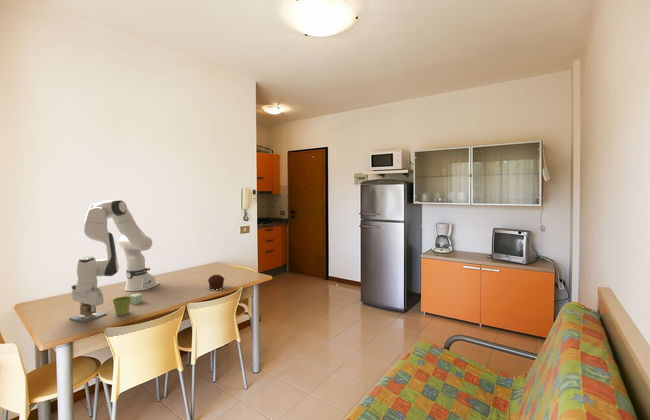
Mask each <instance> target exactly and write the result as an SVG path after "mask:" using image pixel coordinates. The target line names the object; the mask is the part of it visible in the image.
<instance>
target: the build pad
mask: <svg viewBox="0 0 650 420" xmlns="http://www.w3.org/2000/svg"><path fill="white" fill-rule="evenodd" d="M107 314H108V313H107V312H102V311H99V310H96V313H93V314H90V315H88V316H85V315H81V314H80V313H79V314H77V315H74V316H71V317H70V316H69V320H71V321H74V322H79V323H82V324H86V323H88V321H89V322H91V321H93V320H97V319H100V318H102V317H105V316H108V315H107ZM96 318H97V319H96Z"/></svg>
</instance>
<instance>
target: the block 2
mask: <svg viewBox="0 0 650 420" xmlns="http://www.w3.org/2000/svg"><path fill="white" fill-rule="evenodd" d="M129 297H132V299H131V301H130V305H137V304H140V303H142V302H143V293H137V292H136V293H133V294H130V295H129Z"/></svg>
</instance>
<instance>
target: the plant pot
mask: <svg viewBox="0 0 650 420" xmlns="http://www.w3.org/2000/svg"><path fill="white" fill-rule="evenodd" d="M129 296H130V295H129ZM129 296H128V295H127V296H118V297H115V298H113V299H112V303H113V305H114V310H115V315H116V316H121V317H122V316H125V315H128V314H129V312H130V305H131V303H130V301H131V299H132V297H129Z"/></svg>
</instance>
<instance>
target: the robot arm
mask: <svg viewBox="0 0 650 420" xmlns="http://www.w3.org/2000/svg"><path fill="white" fill-rule="evenodd" d="M110 218H112V220H113V221H112V222H113V223H114V224H115V226H116V228H117V230H118V232H119V233H120V234H122V236H120V238H119V240H118V244H119V246H120V247H121V248H122V249H123V252H124V255H125V258H126V271H125V272H126V284H125V287H124V291H126V292H139V291H146V290H149V289H152V288H153V287H156V286H159V285H160V282H158V281H156V277H155V275H153V274H151V273H150V271H151V268H150V267H146V259H145V256H144V255H143V253H142V252H143V251H148V250H150V249H151V247H152V246H153V240H152V238H151V237H149V236H148V235H146V233H145V232H144V231H143V230H141V228H140V226H138V225H137V224H138V223H136V221H135V218H134V216H133V215H132V213H131V212H130V210H129V209H128V206H127V204H126V203H125V201H123V199H114V200H113V199H111V200H103V201H101V202H94V203H92V204H90V205H89V206H88V208H87V213H86V216H85V220H84V225H83V226H84V229H83V230H84V234H85V236H87V238H89V239H91V240H93V241H96V242H100V243H103V244H104V245H105V246H106V253H107V258H103V259H96V257H94V256H84V257H81V258H79V259H78V260H77V265H76V266H77V267H76V275H77V282H76V284H73V285H71V290H72V291H71V298H72V301H73V302H77V303H79V305H80V306H81V305H84V304H90V305H91V309H90V312H94V311H95V307H97V306H101V305H103V304H104V293H103V291H102V290H101V289H100V287H98V277H113V276H115V274H117V273H119V270H120V269H119V268H120V267H119V266H120V265H119V262H118V258H117V251H116V242H115V239H114V236H113V233H112V232H110V231H109V230H108V219H110Z"/></svg>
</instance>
